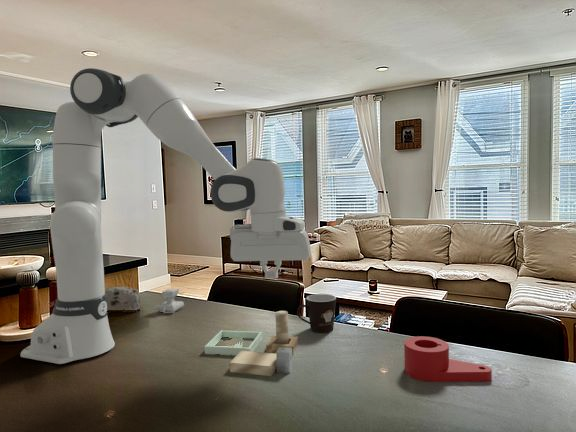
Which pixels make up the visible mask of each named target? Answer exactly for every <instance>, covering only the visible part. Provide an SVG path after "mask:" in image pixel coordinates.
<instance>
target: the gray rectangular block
mask: <svg viewBox="0 0 576 432" xmlns="http://www.w3.org/2000/svg"><path fill="white" fill-rule="evenodd" d="M275 354H276V357H277V369H276V372H277V373H282V374H283V373H284V374H290V373H291V372H292V369H293V354H292V348H287V347H279V348H278V350H277V352H276V353H275Z"/></svg>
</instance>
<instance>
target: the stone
mask: <svg viewBox="0 0 576 432" xmlns="http://www.w3.org/2000/svg"><path fill="white" fill-rule="evenodd" d="M105 293H107V301H108V310H123V309H124V310H137V309H139V308H140V309H141V306H140V305H141V303H140V301H139V299H140V291H139V290H138V289H135V288H133V287H130V286H109V287H107V289H106V288H105Z"/></svg>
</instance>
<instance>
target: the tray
mask: <svg viewBox="0 0 576 432" xmlns="http://www.w3.org/2000/svg"><path fill="white" fill-rule="evenodd" d="M222 337H229V338H228V339H230V338H244V339H251V340H252V339H254V340H253V341H252V342H251V343H250V344H249V346H246V347H244V346H243V345H244V341H243V342H242V343H243V344H242V343H241V345H240V342H239V344H238V343H237V344H235V345H234V346H233V345H232V346H233V347H227V346H215V345H216V344H217V343H218V342H219V341H221V340H222V339H223V338H222ZM221 338H222V339H221ZM220 339H221V340H220ZM262 339H263V331H249V330H248V331H245V330H244V331H243V330H223V329H222V330H220V331H219V332H218V333H216V335H214V336H213V338H211V339H210V340H209V342H208V343H206V344H205V345H204V355H215V354H220V355H219V356H231V355H232V357H233V356H234V357H236V356H237V354H238V353H239V352H240V351H249V352H255V350H256V348H257V347H258V346H259V344H260V343H261V341H262Z"/></svg>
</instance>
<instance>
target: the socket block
mask: <svg viewBox="0 0 576 432" xmlns="http://www.w3.org/2000/svg"><path fill="white" fill-rule="evenodd" d="M298 345H299V336H290V335H289V344H276V335H272V336H271V337H270V339H269V341H268V342H267V344H266V345H265V346H266V348H265V349H266V350H265V351H266V352H265V353H273V354H276V352H277V350H278V348H279V347H287V348H292V355H294V354H295V352H296V350H297V348H298Z"/></svg>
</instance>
